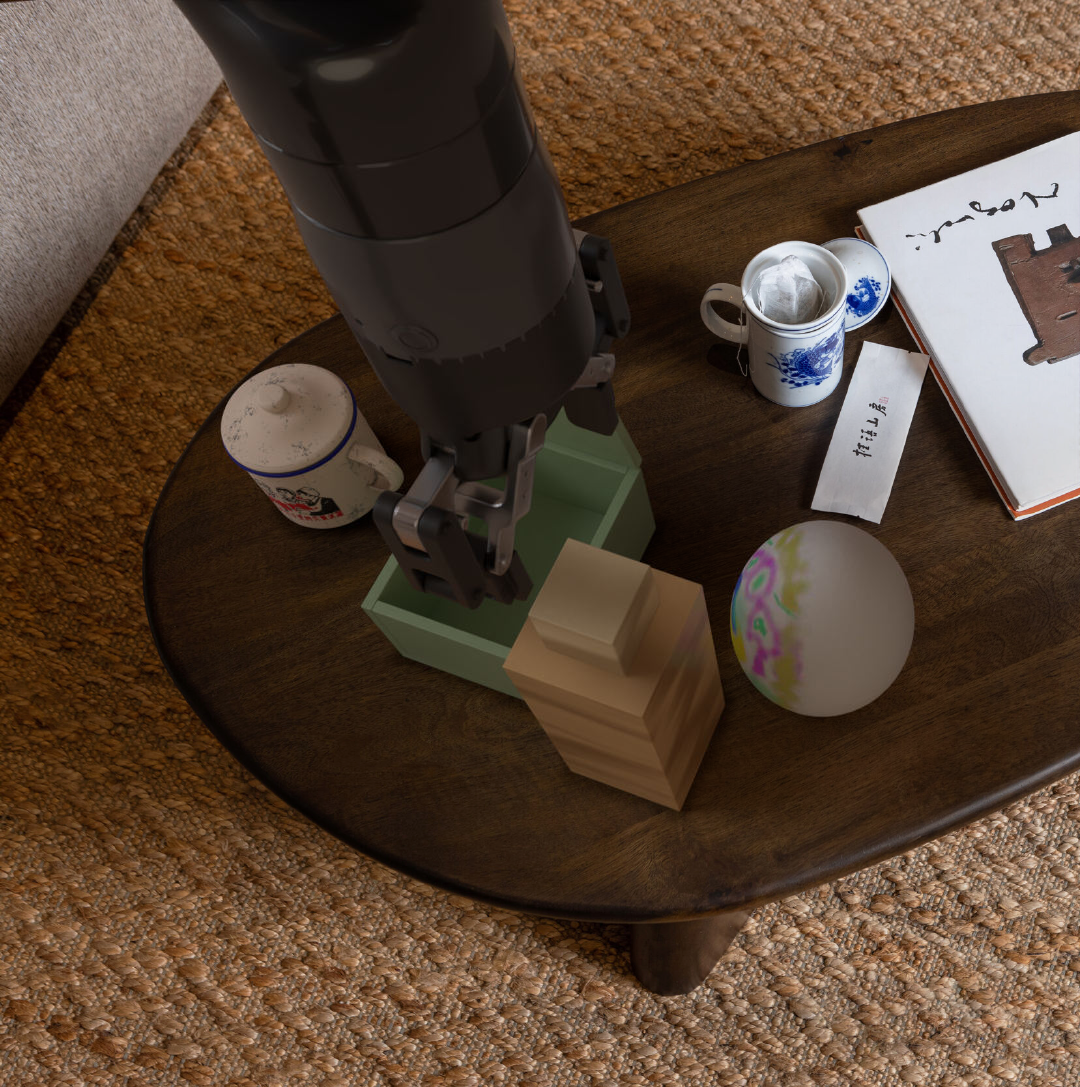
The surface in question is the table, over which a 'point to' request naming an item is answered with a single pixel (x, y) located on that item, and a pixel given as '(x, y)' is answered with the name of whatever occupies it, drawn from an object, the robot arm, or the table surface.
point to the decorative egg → (822, 618)
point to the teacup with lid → (307, 445)
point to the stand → (632, 700)
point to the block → (595, 606)
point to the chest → (555, 515)
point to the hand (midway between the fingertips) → (552, 504)
